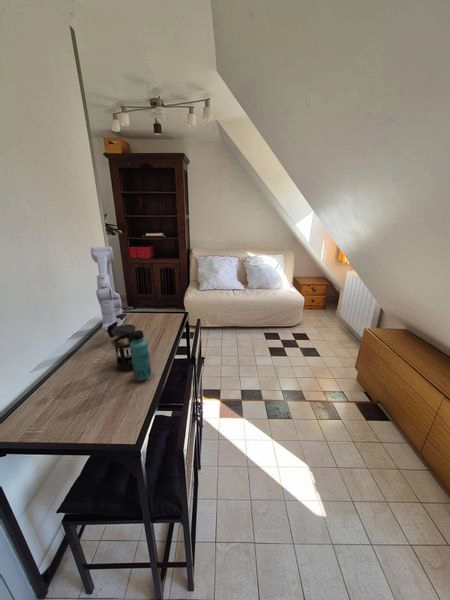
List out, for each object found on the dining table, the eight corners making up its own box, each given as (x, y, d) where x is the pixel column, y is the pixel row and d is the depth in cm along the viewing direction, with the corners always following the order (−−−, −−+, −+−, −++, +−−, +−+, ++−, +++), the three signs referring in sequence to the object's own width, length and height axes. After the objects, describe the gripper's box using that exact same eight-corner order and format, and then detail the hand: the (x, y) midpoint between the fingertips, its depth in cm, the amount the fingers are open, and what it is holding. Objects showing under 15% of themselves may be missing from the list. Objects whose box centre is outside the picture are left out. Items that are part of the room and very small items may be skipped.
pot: (121, 334, 131) (119, 324, 129) (138, 333, 131) (137, 323, 129) (113, 346, 120) (111, 335, 117) (132, 345, 120) (131, 334, 118)
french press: (135, 373, 100) (127, 320, 92) (112, 372, 100) (102, 320, 92) (145, 356, 111) (138, 308, 103) (124, 356, 111) (116, 308, 103)
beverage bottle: (131, 380, 95) (123, 334, 88) (143, 371, 101) (137, 326, 94) (143, 385, 92) (136, 338, 86) (156, 375, 98) (150, 330, 91)
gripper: (105, 306, 126) (109, 330, 131) (93, 318, 113) (98, 344, 117) (119, 306, 127) (123, 330, 131) (109, 317, 113) (114, 343, 118)
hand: (112, 336), depth 124 cm, fingers closed, pressing on pot
